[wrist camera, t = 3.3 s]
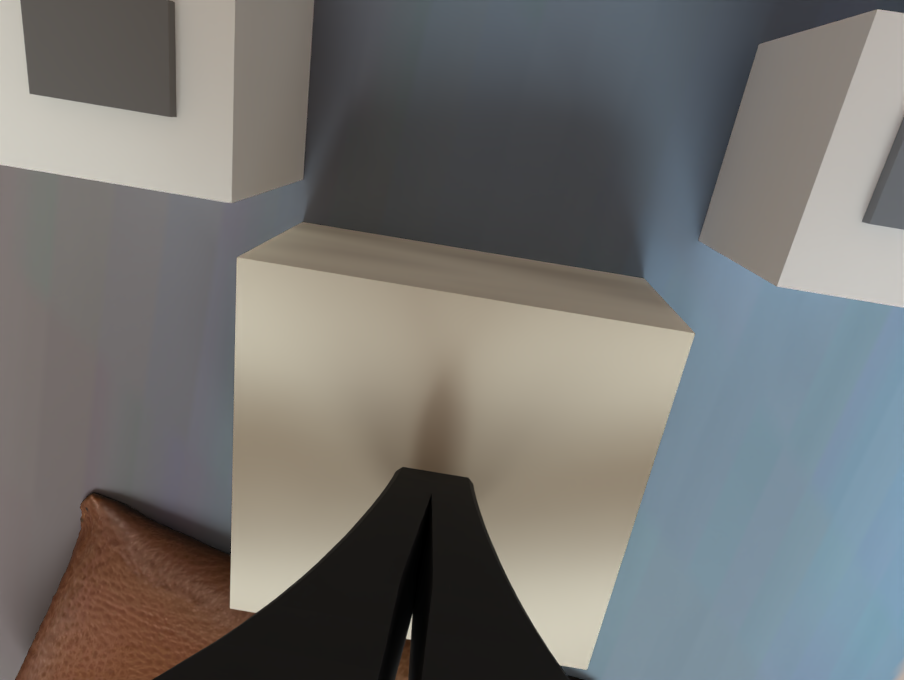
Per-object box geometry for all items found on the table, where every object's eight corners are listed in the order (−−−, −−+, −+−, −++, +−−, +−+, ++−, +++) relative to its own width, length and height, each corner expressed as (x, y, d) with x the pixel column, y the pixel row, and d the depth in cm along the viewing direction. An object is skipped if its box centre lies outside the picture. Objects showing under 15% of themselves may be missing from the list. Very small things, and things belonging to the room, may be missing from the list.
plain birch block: (566, 546, 17) (586, 669, 13) (289, 499, 17) (229, 608, 13) (641, 275, 14) (694, 333, 10) (306, 220, 14) (236, 257, 10)
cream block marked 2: (304, 179, 13) (226, 205, 9) (131, 150, 13) (-18, 163, 10) (316, -22, 12) (230, -90, 8) (123, -54, 12) (-57, -136, 8)
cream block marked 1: (874, 269, 13) (1033, 331, 9) (697, 240, 13) (782, 289, 9) (954, 77, 12) (1182, 54, 8) (756, 45, 12) (886, 6, 8)
